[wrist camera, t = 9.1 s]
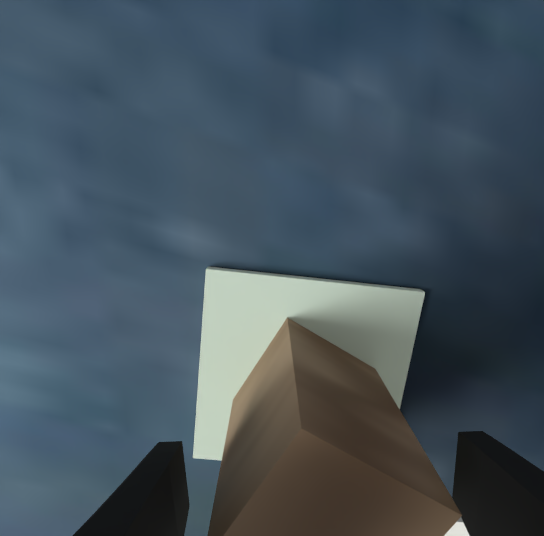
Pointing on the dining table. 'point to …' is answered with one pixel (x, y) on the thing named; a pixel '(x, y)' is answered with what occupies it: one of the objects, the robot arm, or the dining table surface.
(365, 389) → the walnut block
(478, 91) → the dining table surface
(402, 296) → the sage mat
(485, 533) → the robot arm
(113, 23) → the dining table surface
